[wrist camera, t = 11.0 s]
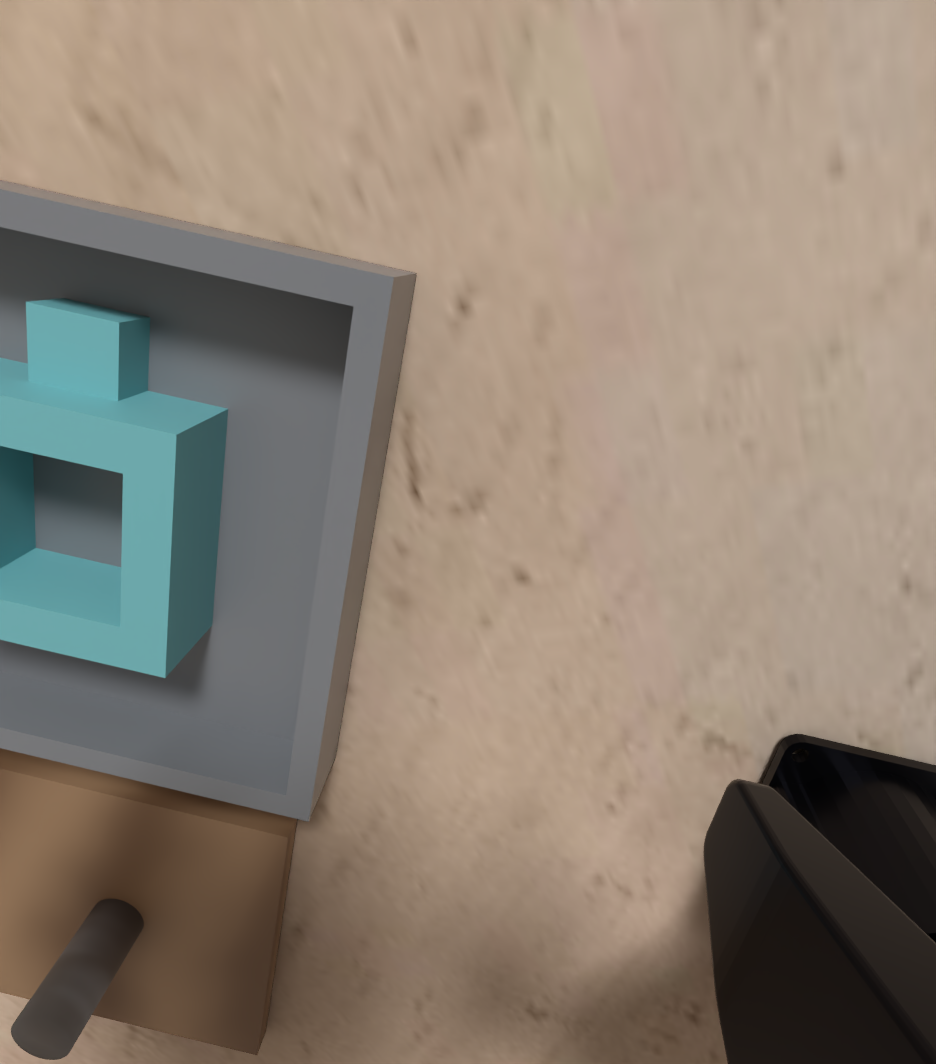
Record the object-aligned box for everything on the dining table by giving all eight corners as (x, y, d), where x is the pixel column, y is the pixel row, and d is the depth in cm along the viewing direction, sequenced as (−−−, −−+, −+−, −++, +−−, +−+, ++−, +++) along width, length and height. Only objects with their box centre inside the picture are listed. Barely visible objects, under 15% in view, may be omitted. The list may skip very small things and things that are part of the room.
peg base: (297, 816, 26) (236, 955, 21) (266, 1030, 30) (209, 1187, 25) (-24, 739, 26) (-162, 858, 21) (-8, 963, 31) (-119, 1106, 25)
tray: (416, 273, 19) (394, 277, 16) (335, 757, 25) (308, 821, 22) (-175, 140, 19) (-299, 122, 16) (-112, 651, 25) (-194, 701, 22)
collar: (233, 335, 19) (180, 350, 16) (212, 625, 22) (165, 677, 20) (-20, 279, 19) (-115, 284, 16) (-3, 575, 23) (-80, 621, 20)
